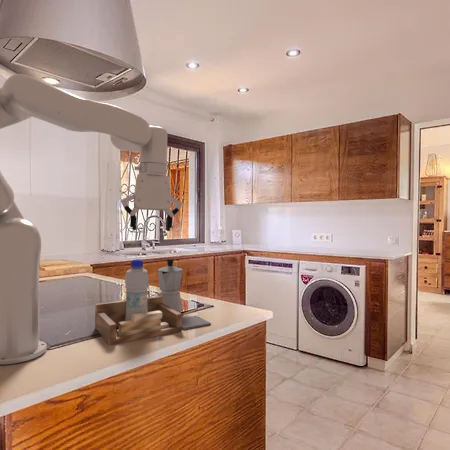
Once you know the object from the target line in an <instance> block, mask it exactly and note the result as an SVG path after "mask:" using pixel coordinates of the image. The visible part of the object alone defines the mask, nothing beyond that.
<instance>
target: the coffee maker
mask: <svg viewBox="0 0 450 450" xmlns="http://www.w3.org/2000/svg"><path fill="white" fill-rule="evenodd" d="M166 262H167V266H163V267H160V268H157V277H158V285H159V290H160V292H159V295H158V296H162V303H163V304H165V305H167V306H169V307H170V308H172V309H174V310H176V311H178V312H179V313H180V312H181V311H183V306H182V305H183V304H182V299H181V298H182V297H181V292H180V289H181V284H182V283H181V282H182V276H183V268H182V267H180V266H179V265H177V266H176V265H175V266H174V258H167V259H166ZM183 312H184V311H183Z"/></svg>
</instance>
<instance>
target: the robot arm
mask: <svg viewBox="0 0 450 450" xmlns="http://www.w3.org/2000/svg"><path fill="white" fill-rule="evenodd" d="M31 117H32V118H35V119H38V120H41V121H43V122H47V123H49V124H52V125H53V126H56V127H57V126H58V127H59V128H62V129H65V130H68V131H71V132H77V133H86V132H87V133H89V132H90V133H101V134H105V135H109V137H110V141H111V144H112V145H113V146H114V147H115V148H116V149H118V150H119V151H123V152H124V151H125V152H140V154H139V164H138V165H134V170H135V171H137V172H139V173H138V174H137V175H136V180H135V186H134V191H133V192H134V193H133V194H131V195H129V196H127V197H125V198H122V199H121V200H120V203H121V205H122V207H123V209H124V210H125V212H127V214H128V215H129V216H130V220H129V221H130V222H129V223H130V225H129V227H130V228H132V231H136V230H137V216H136V214H137V212H139V210H144V211H146V210H147V211H164V213H165V214H166V217H165V231H167V232H170V231H171V229H172V228H173V217H174V216H175V215H177V214H178V212H179V211H180V209H181V207H182V205H183V203H182V201H180V200H178V199H176V198H175V197H173V196H172V193H171V181H170V176H169V175H167V167H168V166H167V164H168V163H167V162H168V161H167V160H168V159H167V158H168V132H167V130H166V128H164V127H162V126H161V127H160V126H155V125H150V124H149V122H148V121H147V120H146V119H145V118H143V117H142V116H140V115H138V114H136V113H135V112H132V111H129V110H127V109H124V108H122V107H120V106H117V105H113V104H110V103H104V102H100V101H96V100H92V99H86V98H82V97H80V96H77V95H75V94H72V93H70V92H68V91H65V90H63V89H61V88H58V87H56V86H54V85H52V84H50V83H47V82H44V81H42V80H40V79H38V78H35V77H33V76H30V75H28V74H23V73H15V74H12V75H10V76H9V77H8V78H7V79H6V80H5V81H4V83H3V85H2V87H0V130H1V129H5V128H7V127H10V126H13V125H15V124H18V123H20V122H23V121H26V120H27V119H31ZM131 201H133V208H132V209H131V208H130V207H129V205H128V202H131ZM172 204H174V205H175V206H174V208H173V209H172V210H171V206H172ZM41 251H42V237H41V235H40V231H39V229H38V228H37V227H36V225H35V224H34V223H32V222H30V221H29V220H28V219H25V218H24V216H23V214H22V212H21V211H20V209H19V208H18V206H17V204H16V202H15V194H14V191H13V188H12V187H11V185H10V183H8V181H7V180H6V178H5V176H4V175H3V173H2V171H1V170H0V365H13V364H14V365H15V364H21V363H24V362H28V361H31V360H33V359H36V358H39V357H40V356H42V355H43V354H44V353H45V352H47V349H48V348H47V347H48V345H47V343H46V342H45V341H43V340H40V263H41V254H42V253H41Z"/></svg>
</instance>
